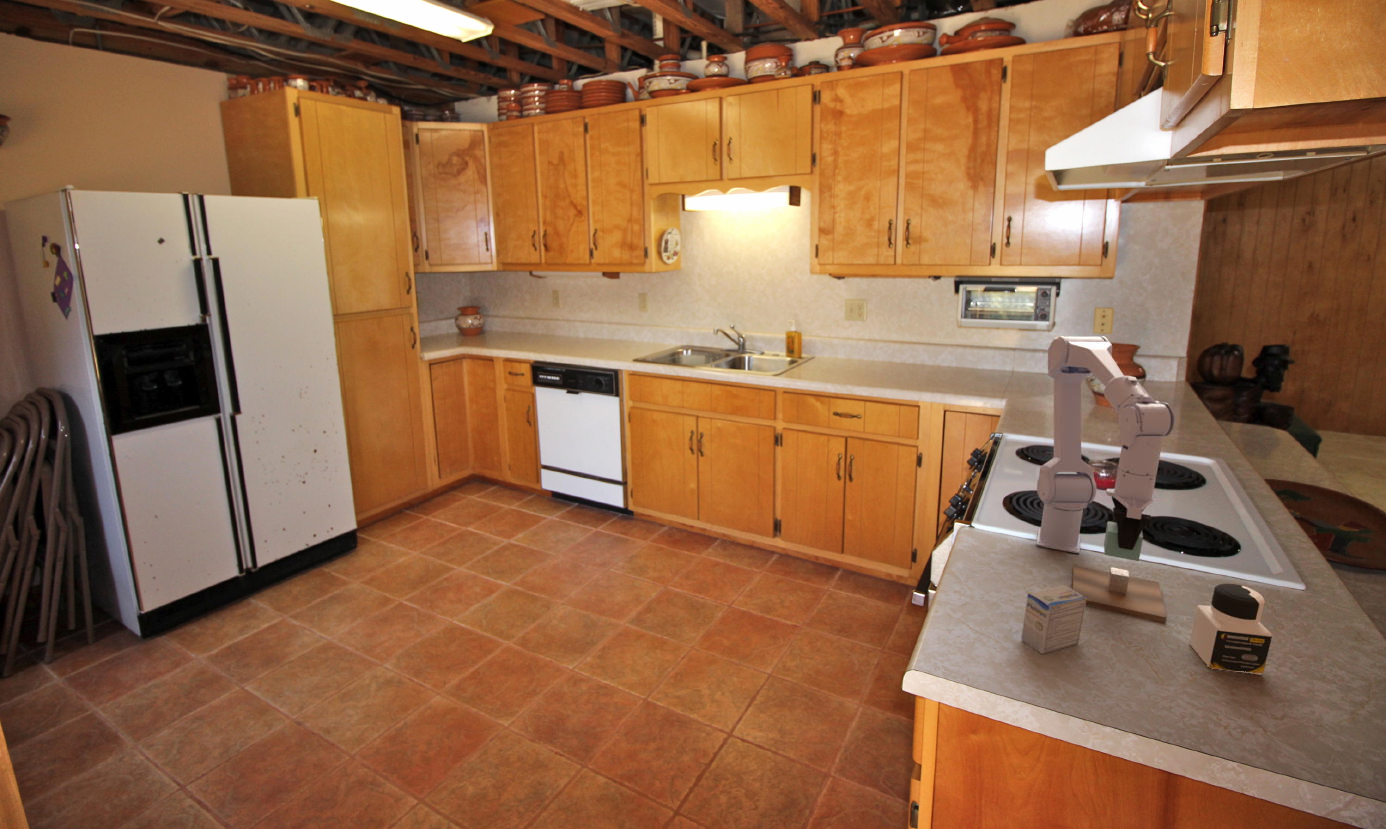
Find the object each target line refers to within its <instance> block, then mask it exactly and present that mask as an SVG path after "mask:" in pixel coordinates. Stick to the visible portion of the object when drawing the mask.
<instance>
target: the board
mask: <svg viewBox="0 0 1386 829" xmlns="http://www.w3.org/2000/svg"><path fill="white" fill-rule="evenodd" d="M1072 570H1073V571H1072V590H1074V591H1076V592H1078V593H1079V594H1081V595H1083V596H1084V597H1086V604H1085V606H1087V607H1088V606H1089V607H1093V608H1098V609H1102V610H1106V611H1110V612H1115V613H1121V614H1124V615H1128V616H1133V617H1137V618H1142V619H1147V620H1152V621H1156V622H1160V623H1163V624H1164V623H1166V621H1167V613H1166V610H1165V604H1164V600H1163V599H1164V598H1163V596H1162V595H1163V594H1162V590H1161V586H1160V582H1159V581H1157V580H1156V581H1155V580H1150V579H1145V578H1141V577H1140V578H1139V577H1135V576H1132V575H1131V576H1130V575H1129V582H1128V587H1127V593H1126V595H1125V594H1120V593H1116V592H1111V591H1108V580H1109V574H1110V571H1105V570H1099V569H1095V568H1090V567H1085V566H1079V565H1073V568H1072Z"/></svg>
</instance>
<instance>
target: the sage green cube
mask: <svg viewBox="0 0 1386 829" xmlns="http://www.w3.org/2000/svg"><path fill="white" fill-rule="evenodd" d="M1143 540H1144V534H1143V531H1142V532H1141V533H1140V535H1139V537H1138V540H1137V542H1136V544H1135V546H1134V548H1133V550H1128V549H1123V548H1119V546H1118V527H1117V523H1116V522H1113V521H1110V520H1109V521H1107V524H1106V530H1105V536H1104V540H1103V551H1104V556H1108V557H1115V558H1120V559H1125V560H1131V561H1136V562H1139V561H1140V556H1141V552H1142V546H1143V542H1144V541H1143Z"/></svg>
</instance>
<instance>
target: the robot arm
mask: <svg viewBox="0 0 1386 829" xmlns="http://www.w3.org/2000/svg"><path fill="white" fill-rule="evenodd" d="M1112 354H1113V345H1112V343H1111V342H1110V341H1109V339H1108V338H1107V337H1106V336H1103V335H1099V336H1064V335H1057V336H1056V337H1054V338H1053V340H1052V341H1051V342H1050V344H1049V347H1048V349H1047V374H1048V377H1050V378H1052V379H1053V458H1051V459H1050V460H1049V461H1047V462H1045V463H1043V464H1042V465H1041V466H1040V467H1039V472H1038V479H1037V482H1036V491H1037V496H1038V497H1039V499H1040V500H1041V502H1043V504H1044V505H1043V510H1042V519H1041V524H1040V527H1039V528H1038V533H1037V536H1036V546H1037V547H1041V548H1042V547H1044V548H1049V549H1053V550H1057V551H1062V552H1063V551H1064V552H1068V553H1072V554H1073V553H1074V554H1080V551H1081V550H1080V547H1081V542H1080V539H1081V536H1080V530H1081V524H1082V518H1083V512H1084V511H1083V510H1084V509H1087V508H1088V504H1091V503H1093V501H1094V500H1095V498H1096V495H1097V491H1098V490H1097V483H1096V481H1095V476H1094V469H1093V468H1092V466H1090V465H1089V464H1088V463H1086V461H1084V460H1083V459H1082V384H1083V382H1084V381H1085V380H1086V379H1089V378H1090V377H1093V376H1094V377H1095V378H1096V379H1097V380H1099V382H1101V384H1102V385H1103V386H1104V387H1105V388H1104V390H1103V396H1104V398H1105V399H1106V400H1107V401H1108V403H1109V405H1111V408H1112V409H1113V410H1115V412H1116V413H1117V415H1118V417H1117V422H1118V428H1119V438H1118V439H1119V442H1120V444H1121V448H1120V449H1121V450H1120V454H1119V461H1118V466H1117V471H1116V479H1115V482H1114V483H1115V484H1114V488H1106V491H1105V495H1106V496H1109V497H1111V500H1112V503H1113V505H1114V507H1113V508H1112V514H1113V516H1114V519H1115V521H1116V522H1115V523H1117V527H1118V546H1119V548H1123V549H1128V550H1133V548H1134V546H1135V544H1136V542H1137V540H1138V537H1139V535H1140V533H1141V532H1142V533H1143V530H1144V529H1145V528H1146V526H1148V524H1149V523H1150V522H1152V515H1151V514H1146V513H1145V514H1144V513H1143V511H1144V510H1145V509H1146V508H1147V507H1148V506H1150V505H1151V504H1152V503H1153V502H1154V490H1155V485H1156V478H1157V473H1158V467H1159V462H1160V457H1161V452H1162V446H1163V441H1164V437H1168V436H1170V434H1172V433H1173V430H1174V428H1175V424H1176V417H1175V413H1174V410H1173V409H1172V407H1171V405H1170V404H1169V403H1168V402H1162V401H1161V402H1160V401H1159V400H1154V399H1153V397H1151V395H1150V394H1149V393H1148V391H1146V390H1145V388H1144V387H1143V385H1142V384H1141V383H1140V382H1139V381H1138V379H1137V377H1136V376H1131V375H1124V374H1123V372H1122V370H1121V369H1120V367H1119V366H1118V364H1117V363H1116V361H1115V359H1114V358H1113V356H1112Z"/></svg>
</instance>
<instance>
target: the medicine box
mask: <svg viewBox="0 0 1386 829" xmlns="http://www.w3.org/2000/svg"><path fill="white" fill-rule="evenodd" d="M1025 604H1026V605H1025V612H1024V619H1023V623H1022V624H1023V625H1022V631H1021V641H1022V642H1023V643H1026V645H1028V646H1029V647H1031V648H1032V649H1034V650H1035V651H1036V650H1037V651H1036V652H1038V653H1039V652H1040V654H1041V655H1043V654H1046V653H1050V652H1054V651H1057V650H1060V649H1063V648H1067V647H1071V646H1074V645H1078V644H1079V642H1080V637H1081V632H1082V626H1083V620H1084V616H1085V615H1084V614H1085V608H1086V605H1085V604H1086V597H1084V596H1083V595H1081V594H1079V593H1078V592H1076V591H1074V590H1073V588H1070V587H1069V586H1066V585H1064V584H1063V585H1059V586H1055V587H1050V588H1046V589H1042V590H1038V591H1035V592H1034V591H1033V592H1031V593H1027V597H1026V603H1025Z"/></svg>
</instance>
